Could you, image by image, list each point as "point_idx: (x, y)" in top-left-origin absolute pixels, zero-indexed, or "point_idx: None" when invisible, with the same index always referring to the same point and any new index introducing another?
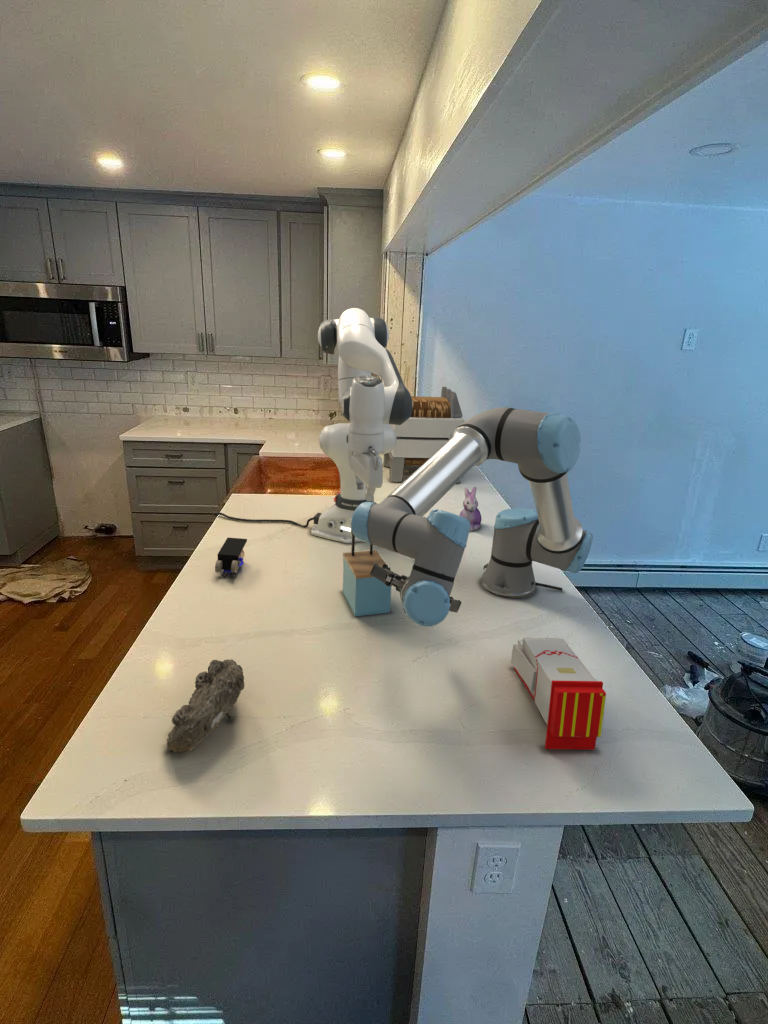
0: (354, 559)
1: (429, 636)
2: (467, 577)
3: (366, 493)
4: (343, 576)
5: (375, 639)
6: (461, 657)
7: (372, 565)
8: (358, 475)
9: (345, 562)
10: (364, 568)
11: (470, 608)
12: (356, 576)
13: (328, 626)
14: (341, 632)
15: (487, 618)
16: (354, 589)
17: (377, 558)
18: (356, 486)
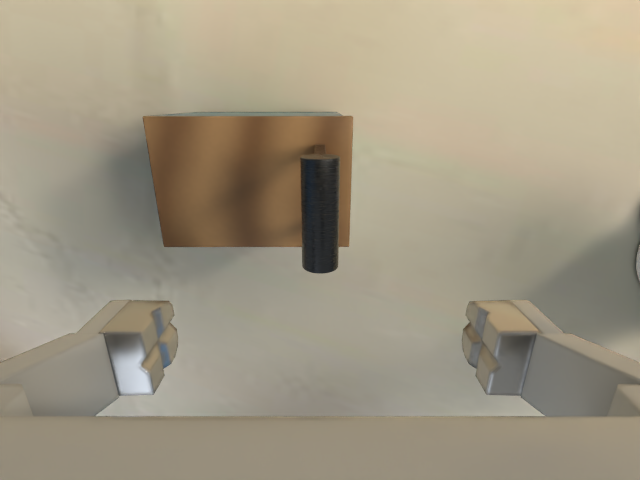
0: (282, 146)
1: (96, 257)
2: (339, 414)
3: (75, 339)
4: (332, 113)
5: (85, 135)
6: (18, 288)
7: (222, 198)
8: (289, 444)
9: (308, 115)
10: (200, 163)
11: (204, 371)
12: (143, 118)
13: (152, 23)
14: (120, 54)
15: (162, 384)
16: (181, 114)
17: (277, 231)
18: (510, 309)
